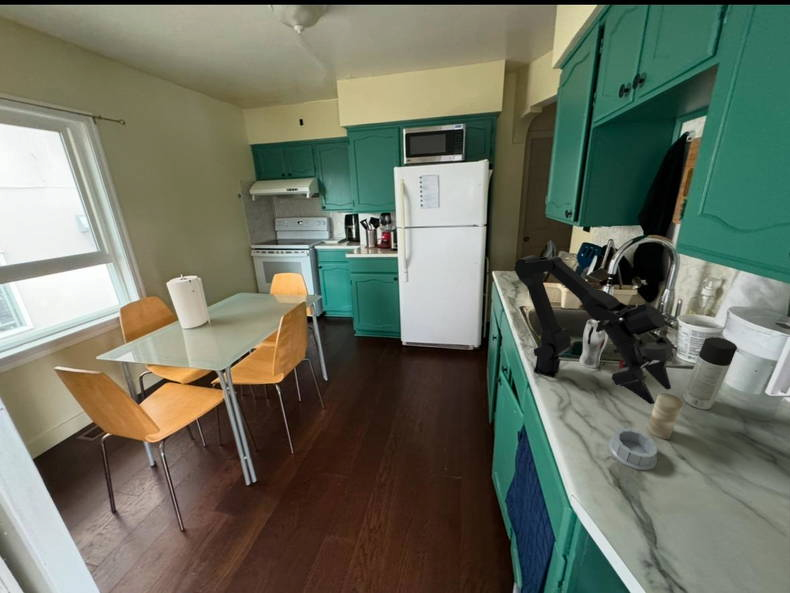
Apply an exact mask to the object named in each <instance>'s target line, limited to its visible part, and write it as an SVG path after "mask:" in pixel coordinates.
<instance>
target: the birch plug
mask: <svg viewBox="0 0 790 593" xmlns="http://www.w3.org/2000/svg"><path fill="white" fill-rule="evenodd" d="M683 405H684V403H683V401H682V400H681V399H680V398H679V397H677V396H676V395H673V394H671V393H667V392H662V393H658V396H657V398H656V400H655V403H654V406H653V410H652V412H651V414H650V418H649V421H648V424H647V426H646V430H647V432H649V434H650V435H652V436H654V437H655V438H657V439H660V440H668V439H670V438H671V435H672V433H673V430H674V428H675V425H676V423H677V420H678V417H679V416H680V412H681V410H682V407H683Z"/></svg>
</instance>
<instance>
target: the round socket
mask: <svg viewBox="0 0 790 593" xmlns="http://www.w3.org/2000/svg"><path fill="white" fill-rule="evenodd" d="M607 446H608V450H609V452H610V454H611V455H612V457H614V459H616V461H618V462H619V463H621V464H622V465H624V466H627V467H629V468H631V469H634V470H637V471H650V470H652V469H654V468H655V467H656V466H657V462H658V457H657V454H658V446H657V444H656V443H655V441H654V440H653V439H652V437H650V436H649V435H647V434H645V433H644V432H642V431H640V430H637V429H633V428H630V427H627V428H626V427H625V428H622V427H621V428H618V429H617V430H616V431H615V432H614V434H613V436H612V437H611V438H610V439H609V440H608V445H607Z"/></svg>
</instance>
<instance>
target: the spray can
mask: <svg viewBox="0 0 790 593" xmlns="http://www.w3.org/2000/svg"><path fill="white" fill-rule="evenodd" d="M737 349H738V346H737V345H736V343H734V342H732V341H730V340H728V339H726V338H723V337H718V336H716V337H713V336H711V337H706V338H704V340H703V343H702V346H701V348H700V350H699V353H698V356H697V358H696V360H695V363H694V366H693V369H692V371H691V373H690V374H691V375H690V376H689V379H688V381H687V384H686V387H685V390H684V392H683V395H682V398H683V401H684V402H685V403H686V404H688V405H689V406H691V407H693V408H696V409H699V410H709V409H711V408H712V407H713V405H714V403H715V402H716V399H717V396H718V394H719V392H720V390H721V387H722V385H723V382H724V381H725V379H726V375H727V373H728V372H729V369H730V367H731V364H732V361H733V359H734V356H735V354H736V352H737Z"/></svg>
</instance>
